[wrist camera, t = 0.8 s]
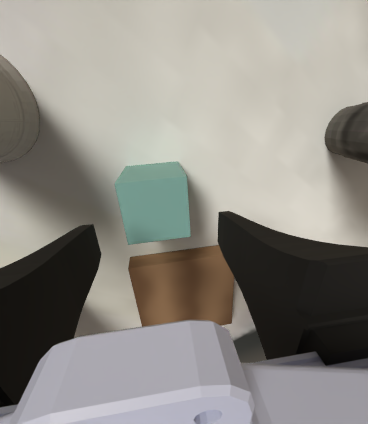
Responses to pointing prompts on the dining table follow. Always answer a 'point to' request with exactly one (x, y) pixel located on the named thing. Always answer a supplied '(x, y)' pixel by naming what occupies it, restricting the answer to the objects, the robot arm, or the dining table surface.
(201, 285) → the walnut base
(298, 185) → the dining table surface
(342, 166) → the dining table surface
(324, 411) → the robot arm
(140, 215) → the teal block
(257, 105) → the dining table surface
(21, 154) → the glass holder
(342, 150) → the beverage cup
